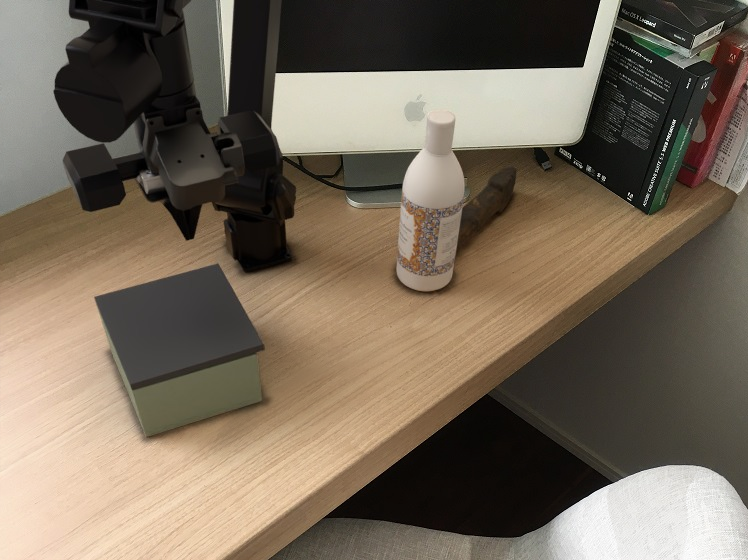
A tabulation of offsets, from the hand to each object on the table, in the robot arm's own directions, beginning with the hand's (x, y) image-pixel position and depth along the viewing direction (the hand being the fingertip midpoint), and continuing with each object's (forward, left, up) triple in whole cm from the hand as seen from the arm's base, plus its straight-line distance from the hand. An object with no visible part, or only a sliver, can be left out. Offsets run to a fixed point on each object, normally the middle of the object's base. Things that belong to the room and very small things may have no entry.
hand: (188, 237), depth 79 cm
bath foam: (-28, 0, -13) cm, 31 cm away
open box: (+4, +5, -13) cm, 14 cm away
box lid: (+4, +5, -6) cm, 9 cm away
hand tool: (-39, -7, -13) cm, 42 cm away
